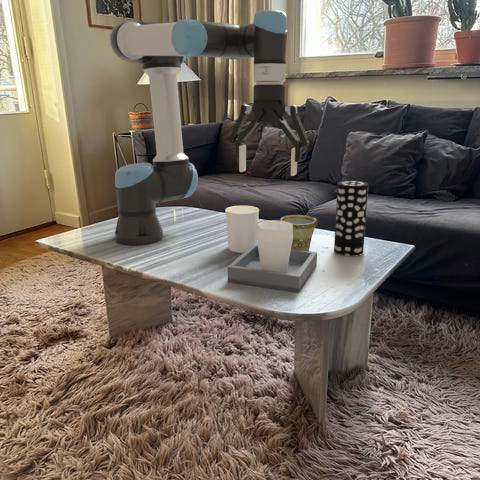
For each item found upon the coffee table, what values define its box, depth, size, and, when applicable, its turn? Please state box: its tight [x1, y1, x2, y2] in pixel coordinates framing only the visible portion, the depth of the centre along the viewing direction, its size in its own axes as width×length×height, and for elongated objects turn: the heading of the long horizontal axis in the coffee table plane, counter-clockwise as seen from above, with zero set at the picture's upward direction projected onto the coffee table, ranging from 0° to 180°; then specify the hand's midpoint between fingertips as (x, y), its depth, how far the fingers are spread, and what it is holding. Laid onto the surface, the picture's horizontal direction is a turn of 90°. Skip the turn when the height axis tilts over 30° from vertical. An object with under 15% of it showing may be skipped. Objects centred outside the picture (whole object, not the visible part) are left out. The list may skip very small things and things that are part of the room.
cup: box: [257, 219, 293, 273], centre depth 114 cm, size 9×9×12 cm
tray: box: [227, 244, 318, 293], centre depth 116 cm, size 18×18×4 cm
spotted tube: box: [333, 180, 369, 257], centre depth 129 cm, size 8×8×20 cm
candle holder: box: [224, 205, 260, 254], centre depth 134 cm, size 10×10×12 cm
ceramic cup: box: [279, 214, 318, 251], centre depth 131 cm, size 13×10×10 cm
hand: (267, 173), depth 114 cm, fingers open, 13 cm apart
